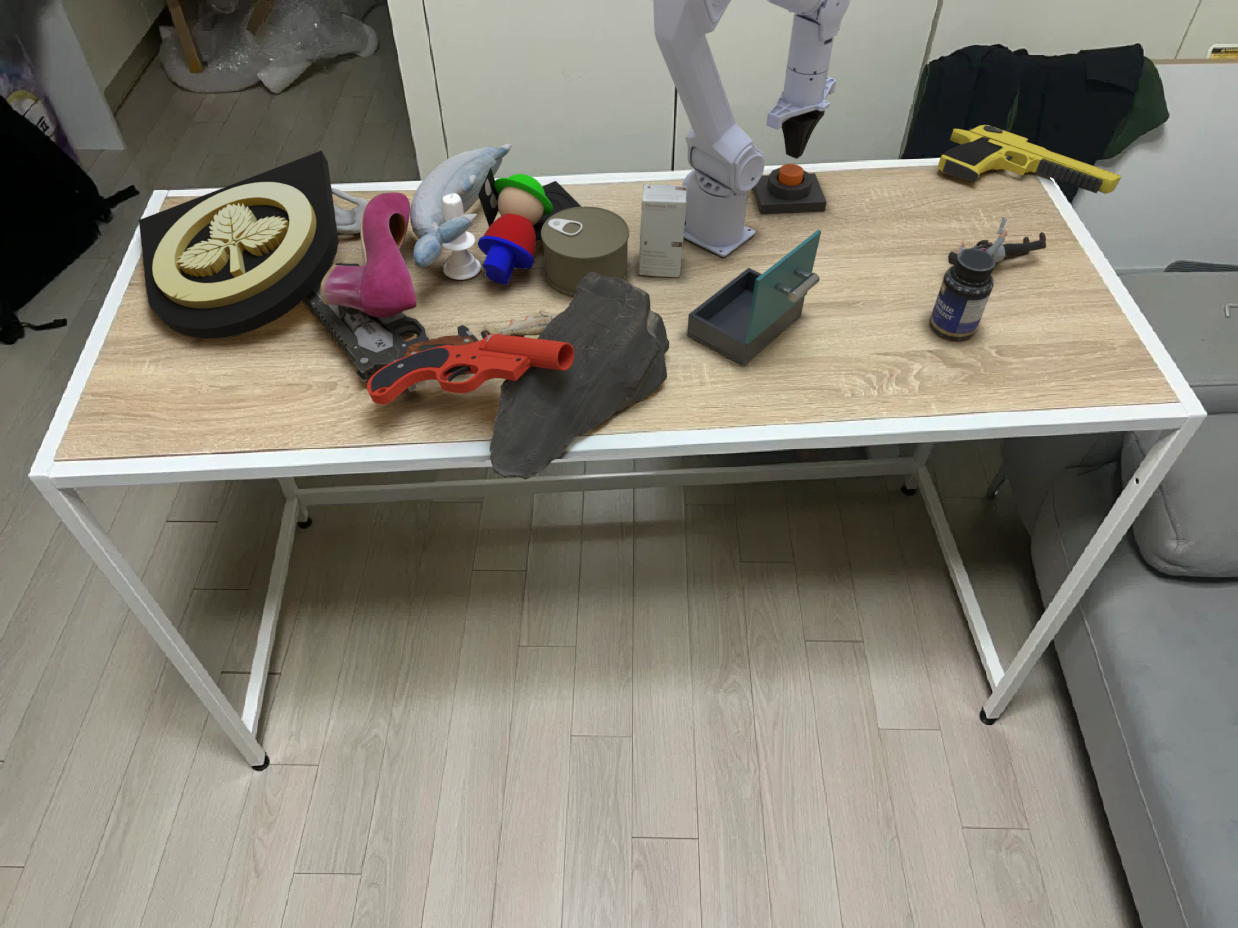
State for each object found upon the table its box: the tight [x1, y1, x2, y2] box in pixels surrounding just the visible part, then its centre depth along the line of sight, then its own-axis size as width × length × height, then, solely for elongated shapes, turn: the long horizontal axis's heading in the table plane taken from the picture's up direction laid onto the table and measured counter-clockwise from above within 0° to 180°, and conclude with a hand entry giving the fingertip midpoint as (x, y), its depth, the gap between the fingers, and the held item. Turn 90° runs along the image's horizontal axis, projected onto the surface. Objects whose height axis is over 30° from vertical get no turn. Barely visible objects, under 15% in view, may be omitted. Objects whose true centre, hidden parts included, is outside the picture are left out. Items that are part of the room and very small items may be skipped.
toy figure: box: [477, 168, 553, 286], centre depth 129 cm, size 9×10×15 cm
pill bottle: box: [929, 247, 996, 342], centre depth 120 cm, size 6×6×11 cm
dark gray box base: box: [686, 267, 806, 367], centre depth 123 cm, size 9×13×4 cm
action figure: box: [947, 216, 1047, 266], centre depth 131 cm, size 9×7×15 cm
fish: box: [483, 309, 559, 339], centre depth 123 cm, size 12×2×5 cm
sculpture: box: [409, 143, 513, 268], centre depth 130 cm, size 18×8×25 cm
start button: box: [778, 163, 805, 186], centre depth 141 cm, size 4×4×2 cm
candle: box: [442, 193, 482, 281], centre depth 128 cm, size 5×5×12 cm
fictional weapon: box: [301, 262, 480, 392], centre depth 123 cm, size 28×4×15 cm
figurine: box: [331, 187, 369, 235], centre depth 137 cm, size 10×6×20 cm
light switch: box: [533, 180, 583, 243], centre depth 137 cm, size 10×4×10 cm
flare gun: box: [366, 331, 574, 406], centre depth 108 cm, size 3×23×15 cm
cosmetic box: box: [638, 183, 687, 278], centre depth 128 cm, size 6×4×12 cm
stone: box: [489, 272, 670, 480], centre depth 112 cm, size 16×12×30 cm
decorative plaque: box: [138, 150, 339, 340], centre depth 128 cm, size 28×4×30 cm
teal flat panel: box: [745, 229, 822, 344], centre depth 115 cm, size 10×13×4 cm
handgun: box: [937, 124, 1122, 195], centre depth 147 cm, size 4×26×15 cm
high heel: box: [321, 191, 417, 318], centre depth 124 cm, size 26×9×12 cm
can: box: [541, 205, 630, 298], centre depth 130 cm, size 12×12×7 cm
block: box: [751, 167, 828, 215], centre depth 143 cm, size 10×8×4 cm
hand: (793, 154), depth 139 cm, fingers closed
